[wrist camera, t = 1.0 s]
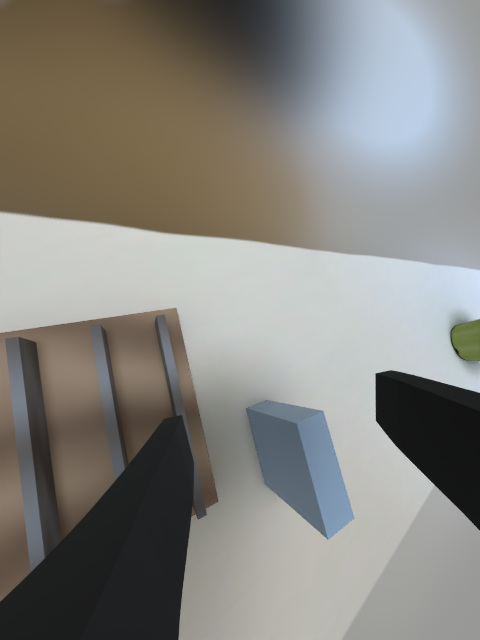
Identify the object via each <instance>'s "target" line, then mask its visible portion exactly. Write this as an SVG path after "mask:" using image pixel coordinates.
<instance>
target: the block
mask: <svg viewBox="0 0 480 640" xmlns="http://www.w3.org/2000/svg"><path fill="white" fill-rule="evenodd" d="M246 409H247V413H248V417H249V421H250V425H251V429H252V434H253V438H254V442H255V446H256V450H257V454H258V458H259V462H260V466H261V470H262V474H263V478H264V483H265V485H266V486H268V487H269V488H270V489H271V490H272V491H273V492H274V493H276V494H277V495H278V496H279V497H280V498H281V499H282V500H284V501H285V502H286V503H287V504H288V505H289V506H290V507H292V508H293V509H294V510H295V511H296V512H297V513H298V514H300V515H301V516H302V517H303V518H304V519H305V520H306V521H308V522H309V523H310V524H311V525H312V526H313V527H314V528H316V529H317V530H318V531H319V532H320V533H321V534H322V535H324V536H325V537H326V538H327V539H330V538H331V537H332V536H333V535H334V534H336V533H337V532H338V531H339V530H341V529H342V528H343V527H344V526H346V525H347V524H348V523H349V522H351V521H352V520H353V519H354V515H353V512H352V508H351V505H350V502H349V498H348V495H347V491H346V488H345V484H344V481H343V477H342V474H341V470H340V467H339V464H338V460H337V457H336V453H335V450H334V446H333V443H332V439H331V436H330V432H329V429H328V425H327V422H326V419H325V415H324V412H323V411H320V410H315V409H310V408H305V407H300V406H294V405H289V404H284V403H279V402H274V401H268V400H266V401H264V402H261V403H258V404H256V405H253V406H250V407H248V408H246Z"/></svg>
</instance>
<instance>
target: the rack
mask: <svg viewBox="0 0 480 640" xmlns="http://www.w3.org/2000/svg"><path fill="white" fill-rule="evenodd" d="M179 415H182V417H183V421H184V425H185V429H186V433H187V437H188V441H189V445H190V448H191V452H192V456H193V460H194V496H193V505H192V514H191V516H193V515H195V514H196V516H197V518H198V519H200V518H202V517H204V516H205V515H207V514H206V508H207V507H209V506H211V505H213V504H215V503H216V502H218V498H217V493H216V489H215V484H214V479H213V475H212V470H211V466H210V461H209V456H208V452H207V447H206V443H205V438H204V433H203V429H202V424H201V420H200V415H199V410H198V406H197V401H196V397H195V392H194V387H193V383H192V378H191V374H190V369H189V364H188V360H187V355H186V350H185V346H184V341H183V337H182V332H181V327H180V323H179V318H178V314H177V309H176V308H172V309H165V310H158V311H151V312H144V313H137V314H130V315H124V316H117V317H110V318H103V319H96V320H89V321H82V322H75V323H68V324H61V325H54V326H47V327H40V328H33V329H26V330H19V331H12V332H5V333H0V601H1V600H3V599H4V598H5V597H6V596H7V595H8V594H9V593H10V592H11V591H12V590H13V589H14V588H15V587H16V586H17V585H18V584H19V583H20V582H21V581H22V580H23V579H24V578H25V577H26V576H27V575H29V574H30V573H31V572H32V571H33V570H34V569H35V568H36V567H37V566H38V565H39V564H40V563H41V562H42V561H43V560H44V558H45V557H46V556H47V555H48V554H49V553H50V552H51V551H52V550H53V549H54V548H55V547H56V546H57V545H58V544H59V543H60V542H61V541H62V540H63V539H64V538H65V537H66V536H67V535H68V534H69V533H70V531H71V530H72V529H73V528H74V527H75V526H76V525H77V524H78V523H79V522H80V521H81V520H82V518H83V517H84V516H85V515H86V514H87V513H88V512H89V511H90V510H91V508H92V507H93V506H94V505H95V504H96V503H97V501H98V500H99V499H100V498H101V497H102V496H103V494H104V493H105V492H106V491H107V490H108V489H109V487H110V486H111V485H112V484H113V483H114V482H115V480H116V479H117V478H118V477H119V476H120V474H121V473H122V472H123V471H124V470H125V468H126V467H127V466H128V465H129V463H130V462H131V461H132V460H133V458H134V457H135V456H136V455H137V453H138V452H139V451H140V449H141V448H142V447H143V446H144V444H145V443H146V442H147V440H148V439H149V438H150V436H151V435H152V434H153V432H154V431H155V430H156V429H157V427H158V426H159V425H160V423H161V422H162V421H163V420H164V419H165V418H170V417H174V416H179Z"/></svg>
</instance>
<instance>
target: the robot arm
mask: <svg viewBox="0 0 480 640" xmlns="http://www.w3.org/2000/svg"><path fill="white" fill-rule="evenodd" d="M376 421H377V423H378V424H379V425H380V426H381V428H382V429H383V430H384V432H385V433H386V434H387V435H388V437H389V438H390V439H391V440H392V442H393V443H394V444H395V445H396V446H397V447H398V448H399V449H400V450H401V452H402V453H403V454H404V455H405V456H406V457H407V458H408V459H409V460H410V461H411V462H412V463H413V464H414V465H415V466H416V467H417V468H418V469H419V470H420V471H421V472H422V473H423V474H424V475H425V476H426V477H427V478H428V479H429V480H430V481H431V482H432V483H433V484H434V485H435V486H436V487H437V488H438V489H439V490H440V491H441V492H442V493H443V494H444V495H445V496H447V498H448V499H450V501H451V502H452V503H454V505H456V506H457V507H458V508H459V509H460V510H461V511H462V512H463V513H464V514H465V516H466V517H467V518H468V519H469V520H470V521H471V522H472V523H473V524H474V525H475V526H476V527H477V528H478V529H479V530H480V393H478V392H474V391H470V390H467V389H463V388H459V387H456V386H452V385H448V384H444V383H441V382H437V381H433V380H430V379H426V378H422V377H418V376H414V375H410V374H406V373H402V372H397V371H391V370H390V371H386V372H381V373H376ZM193 496H194V460H193V456H192V452H191V448H190V445H189V441H188V437H187V433H186V429H185V425H184V421H183V417H182V415H179V416H174V417H170V418H165V419H164V420H163V421H162V422H161V423H160V425H159V426H158V427H157V429H156V430H155V431H154V432H153V434H152V435H151V436H150V438H149V439H148V440H147V442H146V443H145V444H144V446H143V447H142V448H141V449H140V451H139V452H138V453H137V455H136V456H135V457H134V458H133V460H132V461H131V462H130V463H129V465H128V466H127V467H126V468H125V470H124V471H123V472H122V473H121V474H120V476H119V477H118V478H117V479H116V480H115V482H114V483H113V484H112V485H111V486H110V487H109V489H108V490H107V491H106V492H105V493H104V494H103V496H102V497H101V498H100V499H99V500H98V501H97V503H96V504H95V505H94V506H93V507H92V508H91V510H90V511H89V512H88V513H87V514H86V515H85V516H84V517H83V518H82V520H81V521H80V522H79V523H78V524H77V525H76V526H75V527H74V528H73V529H72V530H71V531H70V533H69V534H68V535H67V536H66V537H65V538H64V539H63V540H62V541H61V542H60V543H59V544H58V545H57V546H56V547H55V548H54V549H53V550H52V551H51V552H50V553H49V554H48V555H47V556H46V557H45V558H44V560H43V561H42V562H41V563H40V564H39V565H38V566H37V567H36V568H35V569H34V570H33V571H32V572H31V573H30V574H29V575H27V576H26V577H25V578H24V579H23V580H22V581H21V582H20V583H19V584H18V585H17V586H16V587H15V588H14V589H13V590H12V591H11V592H10V593H9V594H8V595H7V596H6V597H5V598H4V599H3V600H1V601H0V640H178V638H179V620H180V609H181V598H182V589H183V580H184V572H185V564H186V555H187V547H188V539H189V531H190V522H191V514H192V505H193Z"/></svg>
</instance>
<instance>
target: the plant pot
mask: <svg viewBox="0 0 480 640" xmlns="http://www.w3.org/2000/svg"><path fill="white" fill-rule="evenodd" d="M451 336H452V343H453V346H454V348H456V349H457V350H458V352H459V356H460V357H461V358H462V359H464V360H474V361H480V319H478V320H475V321H471V322H467V323H464V324H460V325H457V326H455V328H454V329H453V330H452V333H451Z"/></svg>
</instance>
